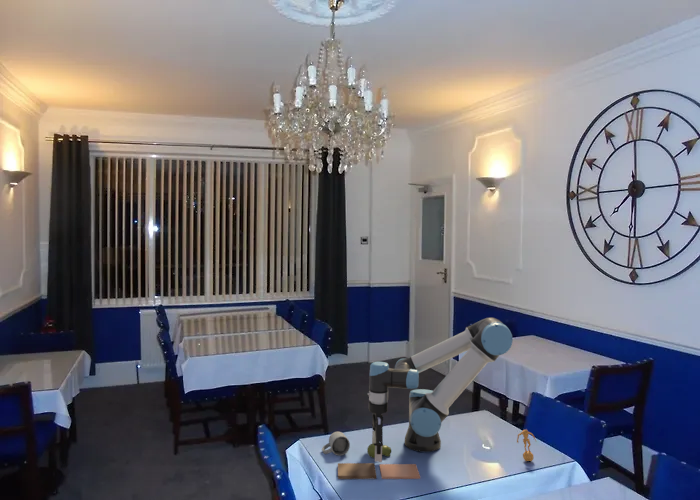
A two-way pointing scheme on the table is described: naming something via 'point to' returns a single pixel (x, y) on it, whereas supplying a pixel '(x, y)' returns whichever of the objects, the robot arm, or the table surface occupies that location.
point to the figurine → (527, 454)
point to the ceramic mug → (337, 444)
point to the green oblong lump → (385, 450)
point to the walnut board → (356, 471)
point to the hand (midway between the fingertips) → (376, 453)
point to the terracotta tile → (399, 471)
